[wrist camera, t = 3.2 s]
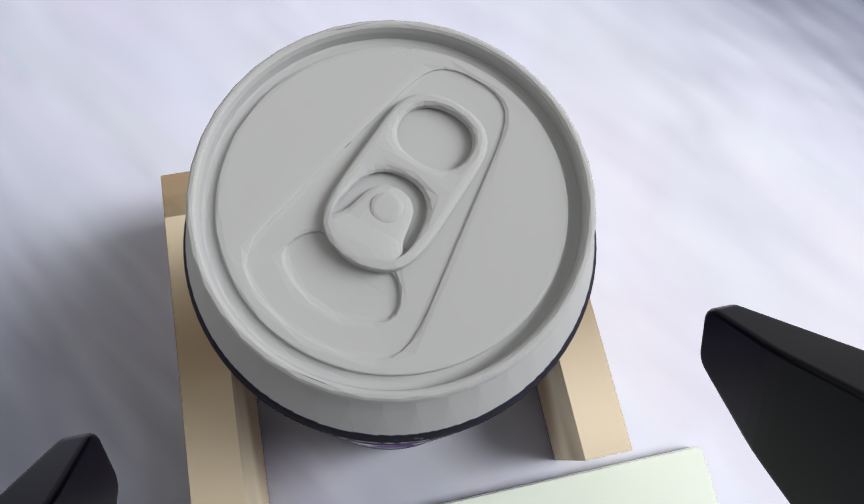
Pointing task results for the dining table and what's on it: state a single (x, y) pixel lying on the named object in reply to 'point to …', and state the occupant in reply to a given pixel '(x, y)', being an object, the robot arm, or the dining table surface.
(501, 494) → the sage pad
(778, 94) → the dining table surface
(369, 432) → the beverage can
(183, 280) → the frame
